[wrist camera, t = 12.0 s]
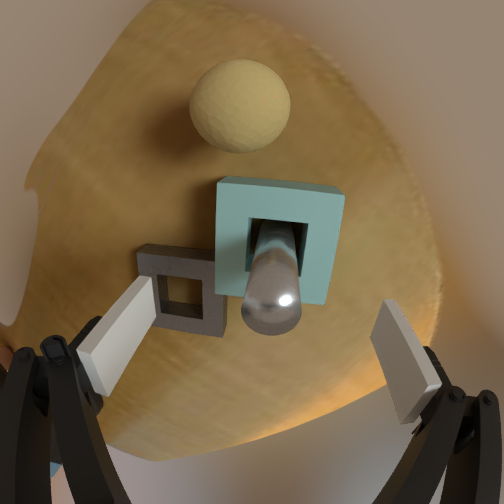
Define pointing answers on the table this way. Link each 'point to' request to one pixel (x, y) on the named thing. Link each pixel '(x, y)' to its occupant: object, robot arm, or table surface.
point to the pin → (273, 281)
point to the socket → (276, 208)
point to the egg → (5, 357)
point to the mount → (186, 266)
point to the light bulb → (239, 106)
